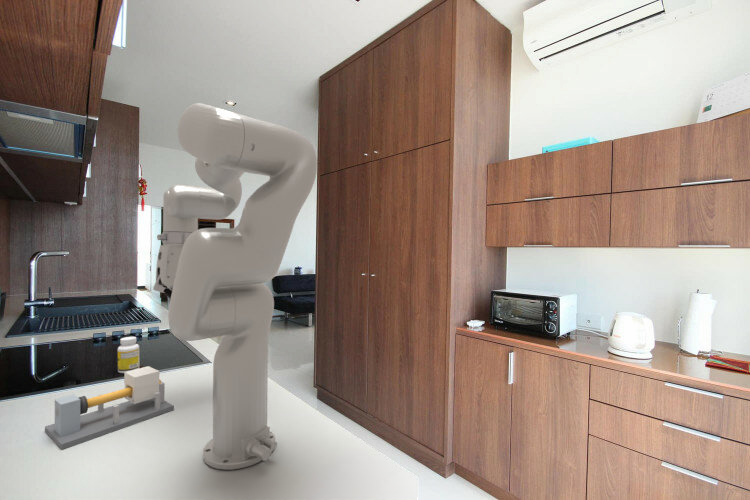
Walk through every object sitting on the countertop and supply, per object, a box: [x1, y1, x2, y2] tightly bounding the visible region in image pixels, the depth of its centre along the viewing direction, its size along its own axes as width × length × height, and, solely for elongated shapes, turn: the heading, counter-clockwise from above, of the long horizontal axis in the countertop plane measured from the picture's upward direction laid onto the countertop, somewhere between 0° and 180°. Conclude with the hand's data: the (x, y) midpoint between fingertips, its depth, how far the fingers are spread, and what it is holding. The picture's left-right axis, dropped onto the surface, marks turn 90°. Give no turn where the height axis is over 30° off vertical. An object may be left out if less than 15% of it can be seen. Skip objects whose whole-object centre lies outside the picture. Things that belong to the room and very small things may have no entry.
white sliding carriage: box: [123, 365, 160, 404], centre depth 82 cm, size 5×6×6 cm
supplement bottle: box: [117, 336, 140, 374], centre depth 107 cm, size 5×5×10 cm
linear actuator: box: [44, 378, 175, 451], centre depth 77 cm, size 20×11×7 cm, turn 145°
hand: (180, 313), depth 88 cm, fingers closed
